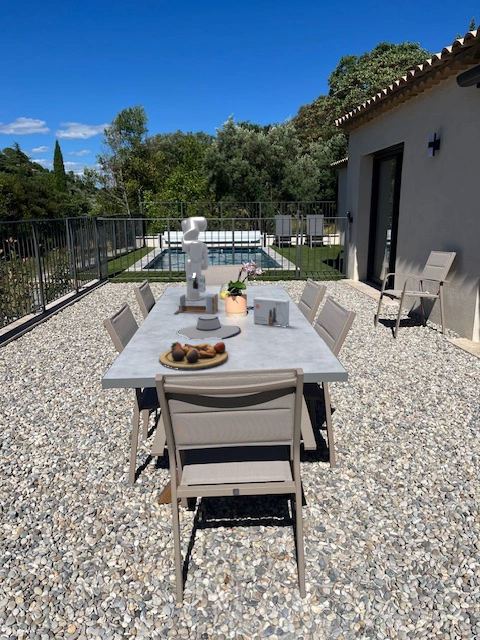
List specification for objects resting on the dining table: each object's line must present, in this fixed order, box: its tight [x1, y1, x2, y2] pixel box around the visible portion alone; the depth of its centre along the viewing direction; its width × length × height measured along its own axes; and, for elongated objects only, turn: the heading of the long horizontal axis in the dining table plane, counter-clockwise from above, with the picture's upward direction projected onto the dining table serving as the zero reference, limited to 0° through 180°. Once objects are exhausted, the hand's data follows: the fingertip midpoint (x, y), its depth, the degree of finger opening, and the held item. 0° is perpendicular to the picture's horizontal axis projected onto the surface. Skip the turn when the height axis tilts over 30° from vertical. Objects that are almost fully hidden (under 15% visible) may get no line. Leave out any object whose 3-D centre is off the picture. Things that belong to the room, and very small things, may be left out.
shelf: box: [173, 293, 219, 315], centre depth 298 cm, size 12×27×12 cm, turn 81°
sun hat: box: [177, 314, 242, 340], centre depth 254 cm, size 36×36×9 cm
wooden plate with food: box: [159, 341, 229, 370], centre depth 209 cm, size 32×32×8 cm
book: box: [205, 293, 216, 313], centre depth 296 cm, size 9×5×11 cm, turn 171°
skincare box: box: [253, 296, 290, 326], centre depth 266 cm, size 21×5×16 cm, turn 64°
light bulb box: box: [188, 274, 207, 294], centre depth 294 cm, size 11×7×11 cm, turn 84°
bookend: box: [176, 294, 187, 312], centre depth 299 cm, size 9×4×10 cm, turn 171°
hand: (197, 287), depth 295 cm, fingers closed on light bulb box, 6 cm apart
